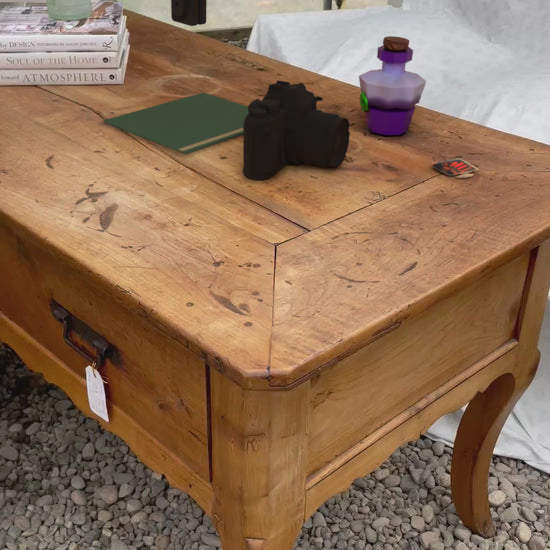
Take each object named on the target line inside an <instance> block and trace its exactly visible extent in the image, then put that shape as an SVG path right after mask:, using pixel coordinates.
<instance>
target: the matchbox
mask: <svg viewBox="0 0 550 550" xmlns="http://www.w3.org/2000/svg"><path fill="white" fill-rule="evenodd" d="M431 167H432V168H434V169H436V171H439V172H440V173H442V174H445V175H446V176H449V177H450V176H455V177H456V178H457V179H458V178H459V179H463V178H464V179H466V178H467V179H468V178H470V177H473V176H474V175H475V173H473V172H474V171H478V170H479V168H478V167H476V166H474V165H473V164H471V163H470V161H465V160H463V159H462V158H460V157H456V158H453V159H452V158H450V159H448V160H443V161H442V160H441V161H438V162H436V163H434V164H432V165H431Z"/></svg>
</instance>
